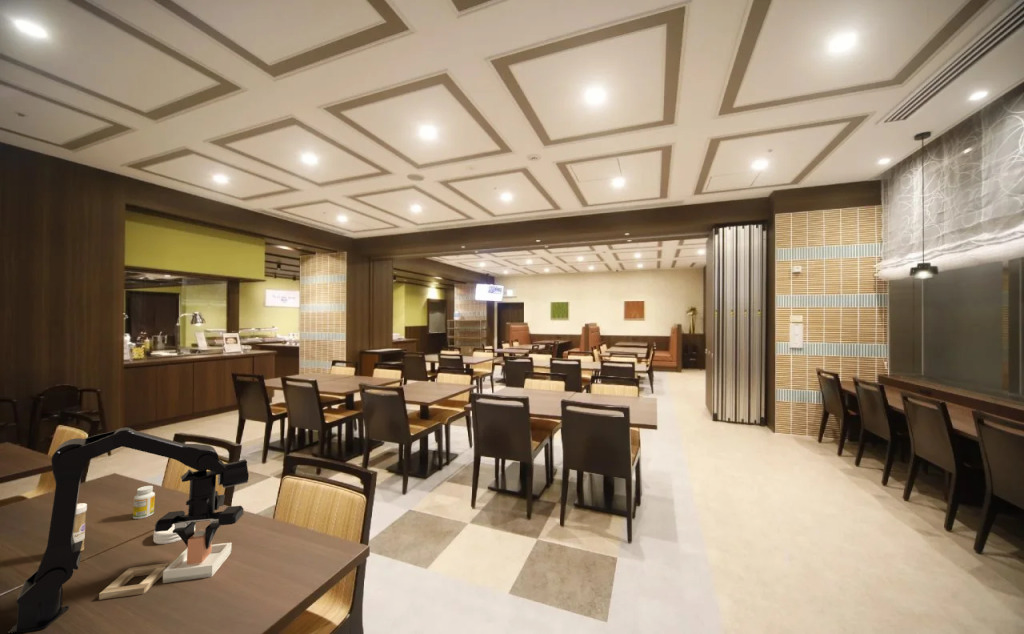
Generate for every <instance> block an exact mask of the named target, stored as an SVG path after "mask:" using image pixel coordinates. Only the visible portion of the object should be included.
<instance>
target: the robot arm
mask: <svg viewBox="0 0 1024 634" xmlns="http://www.w3.org/2000/svg"><path fill="white" fill-rule="evenodd" d="M122 447H123V448H126V449H130V450H131V449H132V450H135V451H136V450H137V451H138V452H139V451H140V452H143V453H147V454H152V455H156V456H160V457H164V458H168V459H172V460H175V461H178V462H179V463H182V464H183V465H185V466H186V467H189V468H190V469H187V471H186V472H185V473H184V474H182V475H181V477H180V479H181V482H182V483H185V482H189V491H188V492H189V494H188V499H187V500H186V501H185V502H186V503H185V505H186V506H188V509H187V510H188V513H187V514H186V512H185V511H184V510H177V511H168V512H167V513H166V514H165V515H163V516H162V517H160V518H159V519H157V521H156V522H155V525H154V530H155V532H159V531H168V530H169V529H170V528H171V527H172V525H173V524H174V525H175V529H174V530H173V533H177V534H178V535H179V537H180V538H181V539H182V540H181V541H183V542H184V543H183V544H185V546H186V548H188V539H189V538H190V537H191V536H192V535H193V534H195V531H194V527H195V528H196V526H195V525H196V523H197V522H207V521H209V524H208V525H207V526H206V527H205V529H206V530H205V546H206V549H208V548H209V547H210V544H211V542H212V543H213V539H214V537H215V535H216V533H217V531H218V529H219V528H220V527H221V526H228V525H234V524H236V523H237V522H238V521H240V520H239V519H240V518H241V517H242V516H243V515H244V509H245V508H244V507H243V506H242V505H233V506H232V505H231V506H227V507H226V508H225V509H224V510H222V511H218V510H219V509H220V507H223V506H224V503H225V498H226V494H219V492H218V490H216V489H217V488H216V486H217V485H218V486H222V488H223V489H226V488H230V487H234V486H237V485H238V486H239V485H243V484H246V483H248V482H249V476H250V475H249V468H248V461H247V460H246V459H245V458H244V459H239V460H237V461H233V462H228V463H227V462H226V463H224V462H223V459H220V458H219V454H218V452H217V451H216V448H214V447H213V446H212V445H209V444H200V443H184V442H180V441H175V440H171V439H167V438H165V437H164V438H163V437H160V436H156V435H154V434H149V433H146V432H141V431H137V430H135V429H133V428H131V427H121V428H117V429H115V430H112V431H108V432H104V433H99V434H96V435H92V436H89V437H86V438H71V439H68V440H65V441H64V442H62V443H61V444H60V445H59V446H58V447H56V449H55V451H54V453H53V454H52V456H51V459H50V461H51V468H52V475H53V479H54V482H55V490H54V497H53V503H52V504H53V505H52V511H51V517H50V524H49V531H48V539H47V544H46V545H47V546H46V548H45V551H44V554H43V556H42V559H41V561H40V563H39V566H38V569H37V570H36V571H35V572H34V573H32V574H31V575H30V576H29V577H28V578H27V579H25V581H24V582H23V585H22V587H21V590H20V592H19V594H18V597H17V599H16V603H17V617H16V618H17V620H16V624H15V625H14V626H12V627H11V628H12V629H13V630H12V631H10V633H11V632H13V634H19V633H25V632H32V631H39V630H44V629H46V628H47V627H49V625H51V624H52V623H53V622H55V621H56V620H57V619H59V618H60V617H61V616H62V615H63V614H64V613H66V612H67V611H68V610H69V609H70V605H64V606H62V605H63V593H64V588H63V585H64V584H66V583H67V582H68V581H69V580H71V579H72V577H73V573H74V570H77V571H78V570H79V568H80V563H81V559H82V555H81V552H82V551H81V547H82V543H83V541H80V542H77V543H75V542H74V539H73V531H74V524H75V517H76V509H77V504H78V501H79V496H80V495H79V494H80V487H81V479H82V476H83V473H84V471H85V468H86V466H87V463H88V461H89V460H91V459H95V458H98V457H99V456H102V455H104V454H106V453H109V452H111V451H114V450H116V449H118V448H122ZM192 469H193V470H195V471H193V470H192ZM215 511H217V512H215ZM80 551H81V552H80ZM15 632H16V633H15Z"/></svg>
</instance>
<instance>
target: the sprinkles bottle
mask: <svg viewBox="0 0 1024 634" xmlns="http://www.w3.org/2000/svg"><path fill="white" fill-rule="evenodd" d="M87 511H88V504H87V503H85V502H82V503H81V502H80V503H77V509H76V517H75V524H74V531H73V539H74V542H75V543H77V542H80V541H83V543H82V547H81V551H80V553H81V552H82V551H84V550H85V538H86V515H87V513H86V512H87Z"/></svg>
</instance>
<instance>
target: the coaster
mask: <svg viewBox="0 0 1024 634" xmlns="http://www.w3.org/2000/svg"><path fill="white" fill-rule="evenodd" d="M196 526H197V525H196V524H195V527H194V532H196ZM174 529H175V525H174V524H173V525H172V527H171V528H170V529H169V530H168V531H159V532H155V529H154V530H153V539H152V541H153V542H154V544H157V545H167V544H172V543H175V542H179V541H180V542H181V541H183V540H182V539H181V538H180V537H179V535H178V534H177V533H173V530H174Z"/></svg>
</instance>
